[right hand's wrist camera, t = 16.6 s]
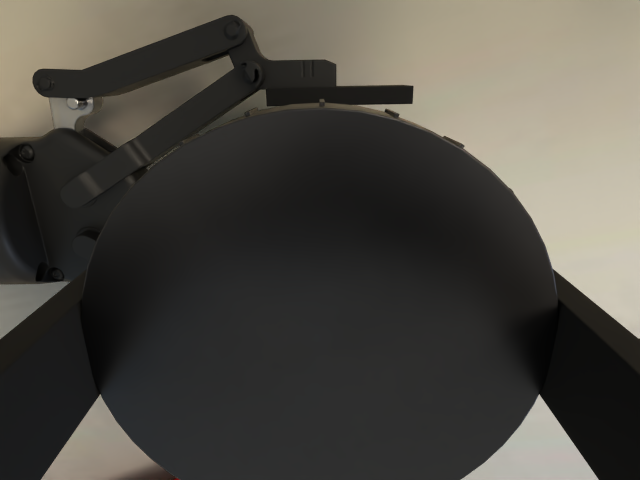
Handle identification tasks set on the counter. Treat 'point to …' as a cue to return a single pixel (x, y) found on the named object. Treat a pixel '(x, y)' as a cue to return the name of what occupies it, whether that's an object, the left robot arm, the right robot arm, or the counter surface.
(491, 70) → the counter surface
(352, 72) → the counter surface
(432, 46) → the counter surface
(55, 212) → the left robot arm
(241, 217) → the lid
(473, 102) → the counter surface
